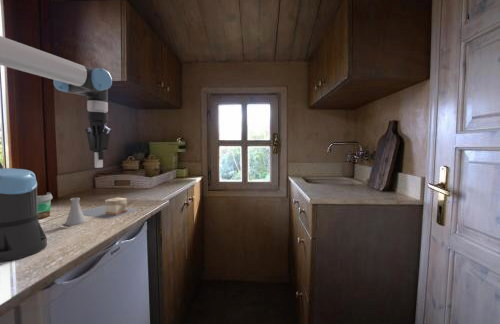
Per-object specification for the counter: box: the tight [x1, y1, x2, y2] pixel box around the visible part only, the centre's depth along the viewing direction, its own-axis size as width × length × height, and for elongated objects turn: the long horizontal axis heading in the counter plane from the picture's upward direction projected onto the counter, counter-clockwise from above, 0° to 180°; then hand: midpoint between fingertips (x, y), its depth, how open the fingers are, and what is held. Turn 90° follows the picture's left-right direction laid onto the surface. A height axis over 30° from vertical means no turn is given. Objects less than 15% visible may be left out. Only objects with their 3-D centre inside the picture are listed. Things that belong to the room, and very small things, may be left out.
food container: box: [37, 191, 54, 221], centre depth 103 cm, size 12×6×10 cm, turn 168°
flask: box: [65, 197, 87, 227], centre depth 98 cm, size 7×7×10 cm
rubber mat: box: [82, 204, 139, 220], centre depth 114 cm, size 16×22×1 cm
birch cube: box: [104, 197, 128, 215], centre depth 112 cm, size 6×6×6 cm
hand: (98, 167), depth 110 cm, fingers closed
